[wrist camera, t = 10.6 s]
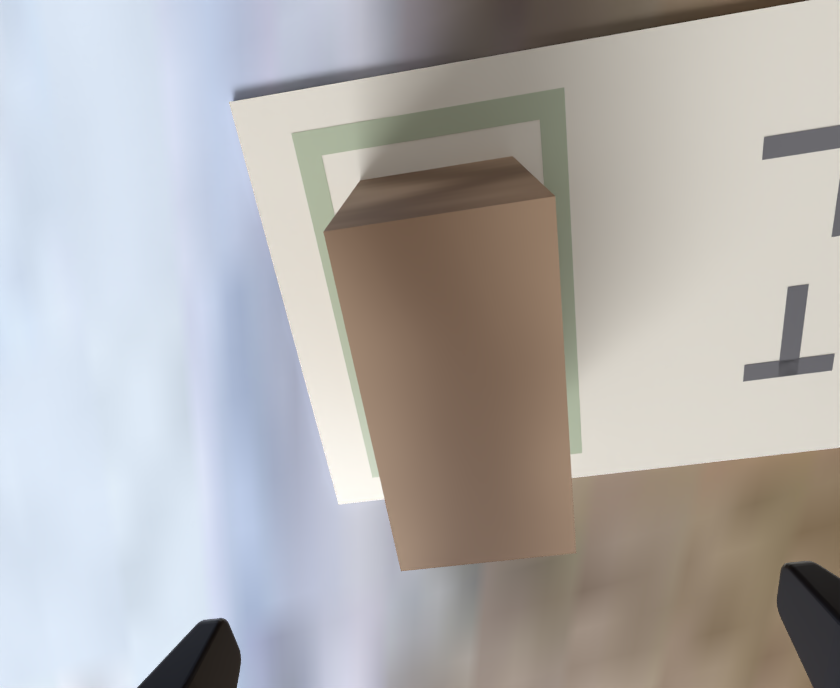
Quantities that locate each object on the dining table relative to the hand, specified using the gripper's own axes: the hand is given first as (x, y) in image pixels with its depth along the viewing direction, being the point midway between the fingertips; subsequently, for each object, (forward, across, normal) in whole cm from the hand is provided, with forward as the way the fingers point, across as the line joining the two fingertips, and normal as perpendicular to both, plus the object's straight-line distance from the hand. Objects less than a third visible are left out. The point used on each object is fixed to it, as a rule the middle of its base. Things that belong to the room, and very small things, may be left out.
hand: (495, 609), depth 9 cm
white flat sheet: (+13, -6, 0) cm, 14 cm away
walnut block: (+13, 0, 0) cm, 13 cm away
